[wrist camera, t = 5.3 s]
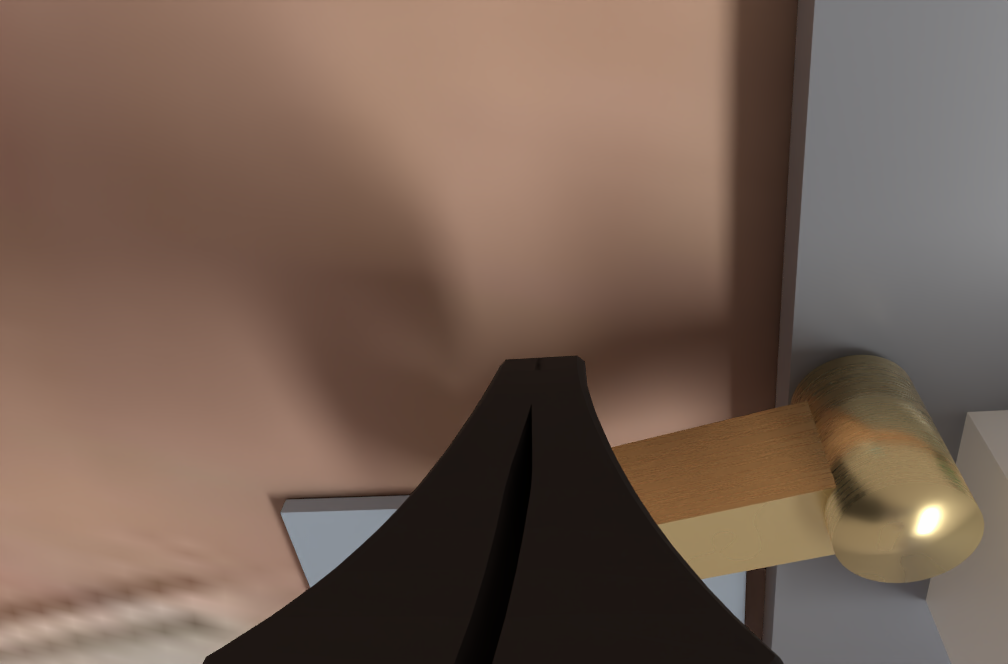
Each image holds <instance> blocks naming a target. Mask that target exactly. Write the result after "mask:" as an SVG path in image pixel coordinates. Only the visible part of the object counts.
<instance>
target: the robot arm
mask: <svg viewBox="0 0 1008 664" xmlns="http://www.w3.org/2000/svg"><path fill="white" fill-rule="evenodd" d="M203 664H784V663H783V661H782V660H781V658H780V657H779V656H778V655H777V654H776V653H775V652H773V651H772V650H771V649H770V648H769V647H768V646H767V645H766V644H765V643H763V642H762V641H761V640H760V639H759V638H758V637H757V636H756V635H755V634H754V633H753V632H752V631H751V630H749V629H748V628H747V627H746V626H745V625H744V624H743V623H742V622H741V621H740V620H739V619H738V618H737V617H736V616H735V615H734V614H733V613H732V612H731V611H730V610H729V609H728V608H727V607H726V606H725V605H724V604H723V603H722V602H721V601H720V599H719V598H718V597H717V596H716V595H715V594H714V593H713V592H712V591H711V590H710V589H709V588H708V587H707V586H706V584H705V583H704V582H703V581H702V580H701V579H700V577H699V576H698V575H697V574H696V573H695V571H694V570H693V569H692V568H691V567H690V566H689V564H688V563H687V562H686V561H685V560H684V558H683V557H682V556H681V555H680V554H679V553H678V551H677V550H676V549H675V548H674V547H673V545H672V544H671V543H670V541H669V540H668V539H667V537H666V536H665V534H664V533H663V532H662V530H661V529H660V528H659V526H658V525H657V524H656V522H655V521H654V519H653V518H652V516H651V515H650V513H649V512H648V510H647V509H646V507H645V506H644V504H643V503H642V501H641V500H640V498H639V497H638V495H637V493H636V492H635V490H634V488H633V487H632V485H631V483H630V482H629V480H628V478H627V476H626V475H625V473H624V471H623V469H622V467H621V466H620V464H619V462H618V460H617V458H616V456H615V454H614V452H613V450H612V448H611V446H610V444H609V442H608V440H607V437H606V435H605V433H604V431H603V428H602V426H601V424H600V422H599V419H598V417H597V414H596V412H595V409H594V406H593V403H592V400H591V397H590V394H589V390H588V386H587V378H586V368H585V361H583V360H582V359H581V358H579V357H578V356H563V357H546V358H528V359H510V360H505V361H504V363H503V364H502V365H501V366H500V367H499V369H498V371H497V373H496V374H495V376H494V378H493V380H492V381H491V383H490V385H489V387H488V388H487V390H486V392H485V393H484V395H483V397H482V398H481V400H480V401H479V403H478V405H477V406H476V408H475V409H474V411H473V413H472V414H471V416H470V417H469V418H468V420H467V421H466V423H465V424H464V426H463V427H462V429H461V430H460V432H459V433H458V435H457V436H456V437H455V439H454V440H453V442H452V443H451V445H450V446H449V447H448V449H447V450H446V451H445V453H444V454H443V455H442V456H441V458H440V459H439V460H438V462H437V463H436V464H435V465H434V467H433V468H432V469H431V470H430V472H429V473H428V474H427V476H426V477H425V478H424V479H423V481H422V482H421V483H420V484H419V486H418V487H417V488H416V489H415V490H414V491H413V492H412V494H411V495H410V496H409V497H408V498H407V499H406V500H405V502H404V503H403V504H402V505H401V506H400V507H399V508H398V509H397V510H396V511H395V512H394V513H393V514H392V515H391V516H390V518H389V519H388V520H387V521H386V522H385V523H384V524H383V525H382V526H381V527H380V528H379V529H378V530H377V531H376V532H375V533H373V534H372V535H371V536H370V537H369V538H368V539H367V540H366V541H365V542H364V543H363V544H362V545H361V546H360V547H359V548H357V549H356V550H355V551H354V552H353V553H352V554H351V555H350V556H348V557H347V558H346V559H345V560H344V561H343V562H342V563H341V564H340V565H338V566H337V567H336V568H335V569H334V570H332V571H331V572H330V573H329V574H327V575H326V576H325V577H323V578H322V579H321V580H320V581H318V582H317V583H316V584H315V585H313V586H312V587H311V588H309V589H308V590H307V591H305V592H304V593H303V594H301V595H300V596H299V597H297V598H296V599H294V600H293V601H292V602H290V603H289V604H288V605H286V606H285V607H284V608H282V609H281V610H279V611H278V612H276V613H275V614H273V615H272V616H271V617H269V618H268V619H266V620H264V621H263V622H261V623H260V624H258V625H257V626H255V627H253V628H252V629H250V630H249V631H247V632H246V633H244V634H242V635H241V636H239V637H238V638H236V639H235V640H233V641H231V642H230V643H228V644H227V645H225V646H224V647H222V648H220V649H219V650H217V651H215V652H214V653H212V654H210V655H209V656H207V657H206V658H205V660H204V662H203Z"/></svg>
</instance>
